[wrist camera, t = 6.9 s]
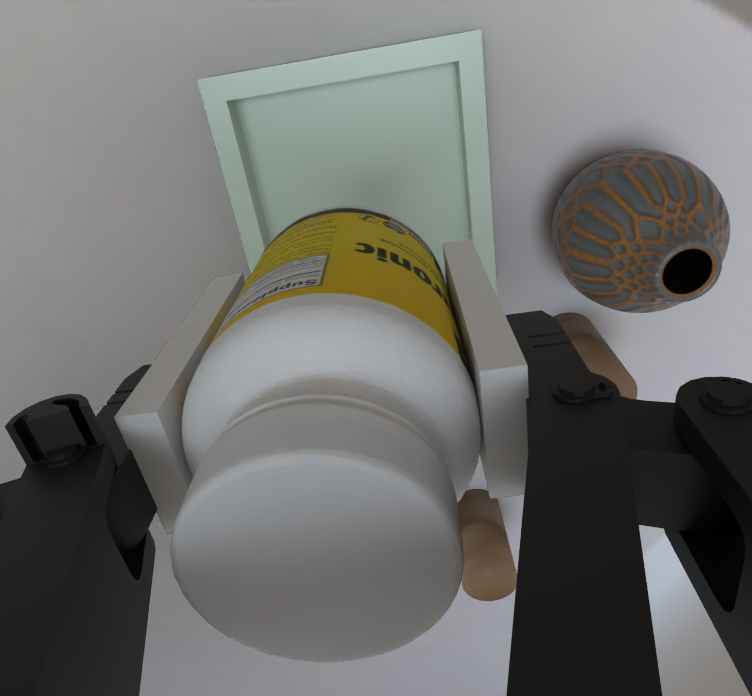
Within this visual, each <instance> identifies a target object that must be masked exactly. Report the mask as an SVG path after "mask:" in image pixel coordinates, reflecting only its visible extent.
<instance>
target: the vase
mask: <svg viewBox="0 0 752 696" xmlns="http://www.w3.org/2000/svg"><path fill="white" fill-rule="evenodd" d="M729 237H730V221H729V215H728V211H727V207H726V205H725V202H724V200H723V198H722V196H721V194H720V192H719V190H718V189H717V187H716V186H715V184H714V183H713V182H712V181H711V180H710V178H709V177H708V176H707V175H706V174H705V173H704V172H703V171H701V170H700V169H699V168H698V167H696V166H695V165H693V164H692V163H690V162H688V161H686V160H684V159H682V158H680V157H677V156H675V155H671V154H668V153H665V152H660V151H654V150H642V149H640V150H630V151H623V152H618V153H615V154H611V155H609V156H606V157H604V158H602V159H599V160H597V161H596V162H594V163H592V164H590V165H589V166H587V167H586V168H585V169H583V170H582V171H581V172H580V173H578V174H577V175H576V176H575V177H574V178H573V179H572V181H571V182H570V183H569V184H568V185H567V187H566V188H565V190H564V191H563V193H562V195H561V196H560V198H559V200H558V203H557V205H556V208H555V211H554V215H553V220H552V227H551V238H552V245H553V251H554V254H555V257H556V260H557V262H558V264H559V266H560V268H561V270H562V272H563V273H564V275H565V276H566V277H567V279H568V280H569V281H570V283H571V284H572V285H573V286H574V287H575V288H576V289H577V290H578V291H579V292H580V293H582V294H583V295H585V296H586V297H587V298H589V299H590V300H592V301H594V302H596V303H598V304H600V305H603V306H605V307H608V308H611V309H614V310H618V311H624V312H631V313H648V312H655V311H660V310H664V309H667V308H670V307H673V306H676V305H678V304H680V303H682V302H686V301H691V300H694V299H696V298H698V297H700V296H702V295H703V294H705V293H706V292H707V291H709V290H710V289H711V288H712V286H713V285H714V284H715V283H716V281H717V279H718V277H719V275H720V272H721V268H722V262H723V260H724V257H725V255H726V252H727V248H728V244H729Z"/></svg>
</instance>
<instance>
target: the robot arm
mask: <svg viewBox="0 0 752 696" xmlns="http://www.w3.org/2000/svg"><path fill="white" fill-rule="evenodd" d="M442 245H443V254H444V264H445V274H446V283H447V290H448V293H449V298H450V302H451V306H452V309H453V313H454V317H455V320H456V324H457V327H458V331H459V335H460V338H461V342H462V346H463V349H464V352H465V356H466V359H467V363H468V366H469V369H470V373H471V376H472V379H473V382H474V386H475V389H476V396H477V401H478V406H479V411H480V417H481V446H480V453H479V454H480V458H481V462H482V466H483V471H484V475H485V479H486V484H487V488H488V492H489V496H490V499H491V498H500V497H509V496H519V495H524V505H523V516H522V528H521V539H520V550H519V561H518V573H517V584H516V595H515V607H514V618H513V629H512V640H511V652H510V663H509V674H508V686H507V696H662V691H661V683H660V676H659V670H658V662H657V654H656V648H655V640H654V634H653V626H652V619H651V611H650V604H649V597H648V590H647V582H646V575H645V568H644V561H643V553H642V546H641V539H640V532H639V525H644V526H651V527H658V528H664V531H665V534H666V535H667V537H668V539H669V541H670V542H671V545H672V547H673V549H674V551H675V553H676V554H677V556H678V558H679V560H680V562H681V564H682V566H683V568H684V570H685V571H686V573H687V575H688V577H689V579H690V581H691V583H692V584H693V587H694V589H695V590H696V592H697V594H698V596H699V598H700V600H701V602H702V604H703V606H704V608H705V610H706V611H707V613H708V615H709V617H710V619H711V621H712V623H713V625H714V627H715V629H716V630H717V632H718V634H719V636H720V638H721V640H722V642H723V644H724V646H725V647H726V649H727V651H728V653H729V655H730V657H731V658H732V661H733V663H734V665H735V667H736V668H737V670H738V672H739V674H740V676H741V678H742V680H743V682H744V684H745V686H746V687H747V689H748V691H749V693H750V695H751V696H752V383H750V382H747V381H744V380H741V379H736V378H731V377H704V378H699V379H695V380H690V381H689V382H687V383H685V384H684V385H682V386H680V388H679V390H678V392H677V395H676V402H675V403H670V402H656V401H644V400H636V399H630V398H627V397H623V396H621V395H620V391H619V389H618V388H617V386H616V384H615V383H614V382H612V381H611V380H609V379H608V378H606V377H605V376H602V375H599V374H596V373H593V372H590V370H589V369H588V367H587V366H586V364H585V363H584V361H583V359H582V358H581V356H580V355H579V353H578V351H577V350H576V348H575V347H574V345H573V343H572V344H571V340H570V339H569V337H568V335H567V334H565V331H564V329H563V328H562V326H561V324H560V323H559V321H558V320H557V319H556V318H554V317H552V316H550V315H549V314H547V313H545V312H543V311H533V312H526V313H518V314H511V315H505V314H504V311H503V309H502V307H501V305H500V302H499V300H498V298H497V296H496V293H495V291H494V289H493V287H492V284H491V282H490V280H489V278H488V275H487V273H486V271H485V269H484V267H483V264H482V262H481V260H480V258H479V255H478V253H477V251H476V249H475V246H474V244H473V242H472V240H471V239H470V240H463V241H456V242H449V243H442ZM244 285H245V280H244V276H243V273H237V274H230V275H223V276H217V277H215V278H214V279H213V281H212V282H211V283H210V285H209V286H208V288H207V289H206V290H205V292H204V293H203V295H202V296H201V297H200V299H199V300H198V301H197V303H196V304H195V306H194V307H193V308H192V310H191V311H190V313H189V314H188V315H187V317H186V318H185V320H184V321H183V322H182V324H181V325H180V326H179V328H178V329H177V331H176V332H175V333H174V335H173V336H172V338H171V339H170V340H169V342H168V343H167V345H166V346H165V347H164V349H163V350H162V351H161V353H160V354H159V356H158V357H157V358H156V360H155V361H154V363H153V364H151V365H144V366H142V367H140V368H139V369H138V370H136V371H135V372H134V373H132V374H131V375H129V376H128V377H127V378H125V380H124V381H123V382H122V384H121V385H120V386H119V387H118V389H117V390H116V391H115V394H113V395H112V397H111V398H110V399H109V400H108V402H107V405H105V406H104V407H103V408H102V410H101V411H100V412H99V413H98V415H97V416H96V417H95V415H94V413H93V411H92V409H91V406H90V404H89V402H88V400H87V398H85V397H83V396H82V395H77V394H67V395H61V396H55V397H52V398H49V399H46V400H43V401H40V402H38V403H36V404H34V405H32V406H30V407H28V408H26V409H24V410H23V411H22V412H20V413H19V414H17V415H16V416H14V417H13V418H12V419H11V420H10V421H9V422H8V424H7V425H6V426H5V428H6V430H7V431H8V433H9V435H10V437H11V438H12V440H13V442H14V444H15V445H16V447H17V449H18V451H19V452H20V454H21V456H22V458H23V459H24V461H25V463H26V465H27V466H26V468H25V470H24V472H23V474H22V476H21V478H19V479H16V480H12V481H9V482H6V483H3V484H0V696H139V691H140V682H141V673H142V664H143V656H144V647H145V638H146V629H147V620H148V611H149V603H150V594H151V585H152V576H153V567H154V558H155V550H156V549H155V543H154V540H153V538H152V535H151V533H150V531H149V529H148V528H149V526H150V523H151V521H152V519H153V517H154V515H155V513H156V511H157V513H158V516H159V518H160V520H161V522H162V524H163V527H164V529H165V531H166V533H173V529H174V525H175V522H176V519H177V516H178V514H179V512H180V509H181V507H182V504H183V502H184V500H185V497H186V494H187V492H188V489H189V487H190V484H191V482H192V479H193V476H192V474H191V472H190V469H189V466H188V463H187V460H186V457H185V452H184V448H183V440H182V414H183V407H184V402H185V398H186V395H187V391H188V388H189V385H190V383H191V381H192V378H193V376H194V374H195V372H196V369H197V367H198V365H199V363H200V361H201V360H202V358H203V356H204V354H205V352H206V351H207V349H208V347H209V346H210V344H211V342H212V340H213V339H214V337H215V335H216V334H217V332H218V330H219V329H220V327H221V325H222V323H223V321H224V320H225V318H226V316H227V314H228V312H229V311H230V309H231V307H232V306H233V304H234V302H235V301H236V299H237V297H238V295H239V294H240V292H241V290H242V288H243V287H244Z"/></svg>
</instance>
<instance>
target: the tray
mask: <svg viewBox="0 0 752 696" xmlns="http://www.w3.org/2000/svg"><path fill="white" fill-rule="evenodd" d="M197 82H198V85H199V89H200V93H201V96H202V100H203V103H204V107H205V111H206V114H207V118H208V121H209V125H210V129H211V132H212V136H213V140H214V143H215V147H216V150H217V154H218V158H219V161H220V165H221V169H222V172H223V176H224V179H225V183H226V187H227V190H228V194H229V197H230V201H231V205H232V208H233V212H234V216H235V219H236V223H237V226H238V230H239V234H240V237H241V241H242V245H243V248H244V252H245V255H246V259H247V263H248V266H249V270H250V273H252V271H253V270H254V268H255V266H256V264H257V262H258V261H259V259H260V257H261V255H262V254H263V252H264V250H265V249H266V248H267V247H268V245H269V244H270V243H271V242H272V241H273V240H274V238H275V237H276V236H277V235H278V234H279V233H280V232H281V231H282V230H283V229H285V228H286V227H287V226H288V225H290V224H291V223H292V222H294V221H295V220H297V219H299V218H301V217H303V216H305V215H307V214H309V213H311V212H314V211H317V210H320V209H324V208H329V207H335V206H363V207H368V208H373V209H376V210H379V211H382V212H385V213H387V214H390V215H392V216H394V217H396V218H397V219H399V220H401V221H402V222H404V223H405V224H407V225H408V226H410V227H411V228H412V229H413V230H414V231H416V232H417V233H418V234H419V235H420V236H421V237H422V239H423V240H424V241H425V242H426V243H427V245H428V246H429V248H430V249H431V251H432V252H433V254H434V255H435V257H436V259H437V262H438V264H439V266H440V268H441V270H442V274H443V277H444V280H445V283H446V274H445V264H444V254H443V245H442V243H449V242H456V241H463V240H470V239H471V240H472V242H473V244H474V246H475V249H476V251H477V253H478V255H479V258H480V260H481V262H482V264H483V267H484V269H485V271H486V273H487V275H488V278H489V280H490V282H491V284H492V287H493V289H494V291H495V293H496V296H497V281H496V265H495V248H494V231H493V214H492V198H491V181H490V164H489V147H488V131H487V114H486V97H485V80H484V64H483V47H482V30H481V29H480V30H474V31H468V32H462V33H457V34H451V35H445V36H440V37H434V38H428V39H423V40H417V41H411V42H406V43H400V44H394V45H389V46H383V47H377V48H372V49H366V50H360V51H355V52H349V53H344V54H338V55H332V56H327V57H321V58H315V59H310V60H304V61H298V62H293V63H287V64H281V65H276V66H270V67H264V68H259V69H253V70H247V71H242V72H236V73H230V74H225V75H219V76H213V77H208V78H203V79H198V80H197ZM446 287H447V283H446Z"/></svg>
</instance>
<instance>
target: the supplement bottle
mask: <svg viewBox="0 0 752 696" xmlns="http://www.w3.org/2000/svg"><path fill="white" fill-rule="evenodd" d="M182 440H183V448H184V452H185V457H186V460H187V463H188V466H189V469H190V472H191V474H192V476H193V479H192V482H191V484H190V487H189V489H188V492H187V494H186V497H185V500H184V502H183V504H182V507H181V509H180V512H179V514H178V516H177V519H176V522H175V525H174V529H173V533H172V540H171V560H172V568H173V571H174V575H175V578H176V580H177V582H178V584H179V586H180V588H181V590H182V592H183V594H184V596H185V597H186V598H187V600H188V601H189V603H190V604H191V605H192V606H193V608H194V609H195V610H196V611H197V612H198V613H199V614H200V615H201V616H202V617H203V618H204V619H205V620H206V621H207V622H208V623H209V624H211V625H212V626H213V627H215V628H216V629H218V630H219V631H220V632H222V633H223V634H225V635H226V636H228V637H230V638H232V639H234V640H236V641H238V642H240V643H242V644H244V645H246V646H248V647H251V648H254V649H256V650H259V651H262V652H265V653H267V654H270V655H275V656H279V657H284V658H289V659H295V660H301V661H312V662H340V661H351V660H357V659H364V658H368V657H372V656H376V655H379V654H383V653H386V652H389V651H392V650H394V649H397V648H399V647H401V646H403V645H405V644H407V643H409V642H410V641H412V640H414V639H415V638H417V637H418V636H420V635H421V634H423V633H424V632H426V631H427V630H429V629H430V628H431V627H432V626H433V625H434V624H435V623H436V622H437V621H438V620H440V618H441V617H442V616H443V615H444V614H445V612H446V611H447V610H448V608H449V607H450V606H451V604H452V602H453V600H454V598H455V596H456V595H457V592H458V589H459V586H460V583H461V580H462V576H463V569H464V551H463V541H462V535H461V529H460V523H459V517H458V502H459V501H460V499H461V498H462V496H463V495H464V493H465V491H466V490H467V488H468V486H469V484H470V482H471V479H472V477H473V474H474V472H475V469H476V466H477V463H478V458H479V453H480V446H481V417H480V411H479V406H478V401H477V396H476V389H475V386H474V382H473V379H472V376H471V373H470V369H469V366H468V363H467V359H466V356H465V352H464V349H463V346H462V342H461V338H460V335H459V331H458V327H457V324H456V320H455V317H454V313H453V309H452V306H451V302H450V298H449V293H448V290H447V287H446V283H445V280H444V277H443V274H442V270H441V268H440V266H439V264H438V262H437V259H436V257H435V255H434V254H433V252H432V251H431V249H430V248H429V246H428V245H427V243H426V242H425V241H424V240H423V239H422V237H421V236H420V235H419V234H418V233H417V232H416V231H414V230H413V229H412V228H411V227H410V226H408V225H407V224H405V223H404V222H402V221H401V220H399V219H397V218H396V217H394V216H392V215H390V214H387V213H385V212H382V211H379V210H376V209H373V208H368V207H363V206H335V207H329V208H324V209H320V210H317V211H314V212H311V213H309V214H307V215H305V216H303V217H301V218H299V219H297V220H295V221H294V222H292V223H291V224H290V225H288V226H287V227H286V228H285V229H283V230H282V231H281V232H280V233H279V234H278V235H277V236H276V237H275V238H274V240H273V241H272V242H271V243H270V244H269V245H268V247H267V248H266V249H265V250H264V252H263V254H262V255H261V257H260V259H259V261H258V262H257V264H256V266H255V268H254V270H253V271H252V273H251V275H250V276H249V278H248V280H247V281H246V283H245V285H244V287H243V288H242V290H241V292H240V294H239V295H238V297H237V299H236V301H235V302H234V304H233V306H232V307H231V309H230V311H229V312H228V314H227V316H226V318H225V320H224V321H223V323H222V325H221V327H220V329H219V330H218V332H217V334H216V335H215V337H214V339H213V340H212V342H211V344H210V346H209V347H208V349H207V351H206V352H205V354H204V356H203V358H202V360H201V361H200V363H199V365H198V367H197V369H196V372H195V374H194V376H193V378H192V381H191V383H190V385H189V388H188V391H187V395H186V398H185V402H184V407H183V414H182Z"/></svg>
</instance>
